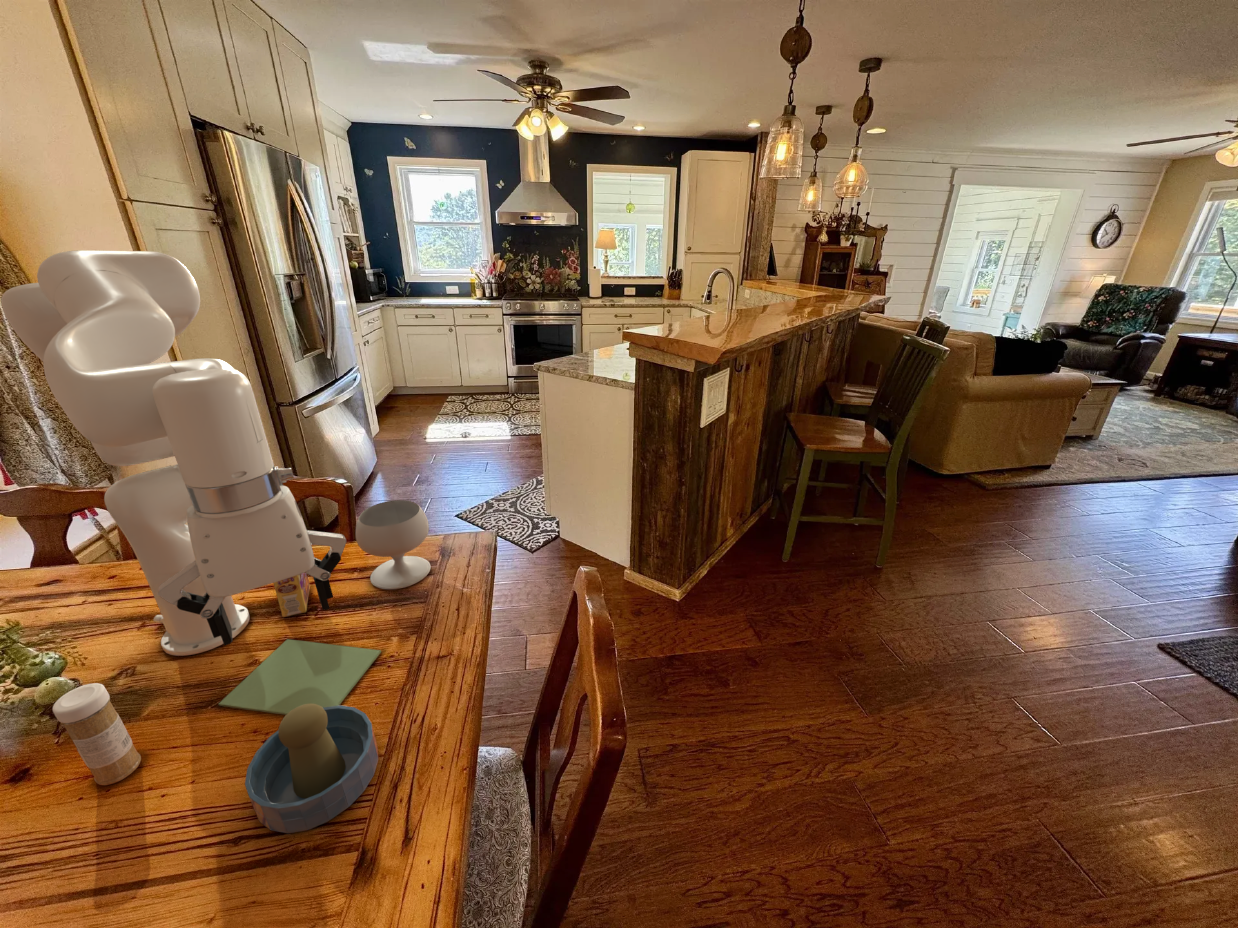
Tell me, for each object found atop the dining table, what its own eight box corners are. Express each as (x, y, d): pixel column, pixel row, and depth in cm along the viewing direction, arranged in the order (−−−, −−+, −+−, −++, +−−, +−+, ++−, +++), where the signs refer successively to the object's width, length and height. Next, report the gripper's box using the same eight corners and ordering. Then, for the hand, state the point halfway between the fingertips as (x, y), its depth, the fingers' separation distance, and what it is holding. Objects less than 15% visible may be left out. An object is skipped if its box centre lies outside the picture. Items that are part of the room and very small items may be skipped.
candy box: (308, 612, 95) (289, 544, 89) (282, 618, 93) (261, 549, 87) (312, 586, 102) (295, 522, 96) (288, 591, 101) (268, 526, 95)
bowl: (227, 825, 60) (215, 797, 58) (309, 724, 72) (301, 699, 70) (334, 843, 58) (324, 816, 56) (398, 737, 71) (393, 712, 69)
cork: (322, 803, 62) (302, 741, 57) (281, 793, 63) (258, 731, 58) (355, 758, 67) (339, 699, 63) (317, 750, 68) (298, 691, 64)
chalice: (373, 559, 112) (360, 500, 106) (438, 552, 115) (429, 494, 109) (358, 597, 99) (343, 533, 93) (431, 588, 102) (421, 525, 96)
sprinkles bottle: (110, 758, 67) (69, 685, 62) (150, 751, 68) (112, 678, 63) (86, 791, 63) (40, 715, 58) (129, 782, 64) (87, 707, 59)
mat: (218, 705, 75) (218, 703, 75) (287, 640, 88) (287, 638, 88) (326, 720, 73) (326, 718, 73) (381, 651, 86) (381, 650, 86)
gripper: (323, 460, 59) (352, 578, 66) (129, 499, 50) (185, 633, 56) (334, 480, 54) (365, 607, 60) (119, 528, 44) (183, 673, 51)
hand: (278, 619), depth 58 cm, fingers open, 9 cm apart
